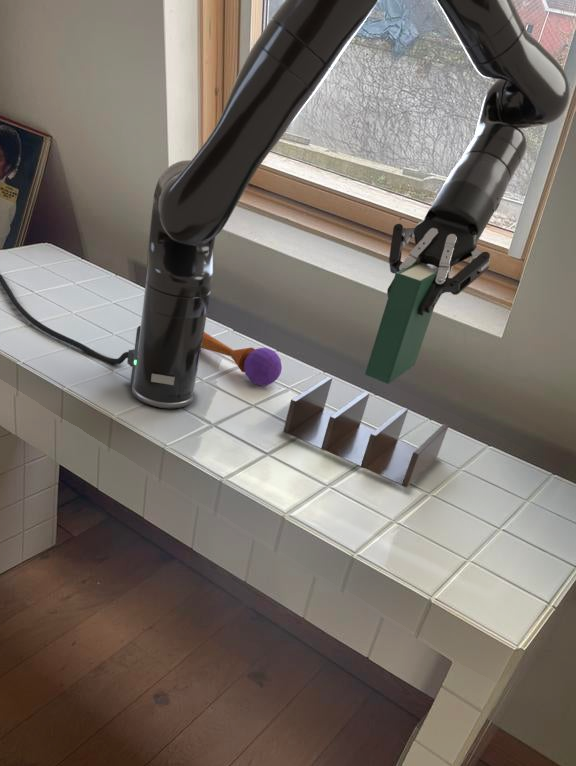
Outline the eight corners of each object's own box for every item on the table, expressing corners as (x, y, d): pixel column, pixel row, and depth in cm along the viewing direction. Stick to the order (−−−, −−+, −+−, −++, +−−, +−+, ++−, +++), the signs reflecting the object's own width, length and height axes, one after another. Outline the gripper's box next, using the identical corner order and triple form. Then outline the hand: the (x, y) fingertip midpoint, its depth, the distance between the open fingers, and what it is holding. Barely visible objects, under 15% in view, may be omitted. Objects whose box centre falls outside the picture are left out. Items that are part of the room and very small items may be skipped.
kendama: (205, 317, 143) (293, 354, 132) (197, 351, 145) (283, 390, 134) (181, 316, 139) (270, 354, 127) (173, 351, 141) (260, 391, 130)
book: (364, 374, 110) (395, 272, 102) (392, 356, 117) (423, 259, 109) (388, 384, 109) (421, 281, 101) (414, 365, 116) (447, 267, 108)
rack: (282, 436, 120) (290, 399, 117) (318, 410, 129) (328, 376, 126) (405, 491, 113) (418, 454, 109) (435, 461, 121) (448, 425, 118)
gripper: (417, 165, 107) (353, 273, 105) (523, 195, 102) (457, 310, 100) (420, 201, 114) (359, 304, 112) (518, 232, 109) (457, 340, 107)
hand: (406, 306), depth 106 cm, fingers closed on book, 3 cm apart
